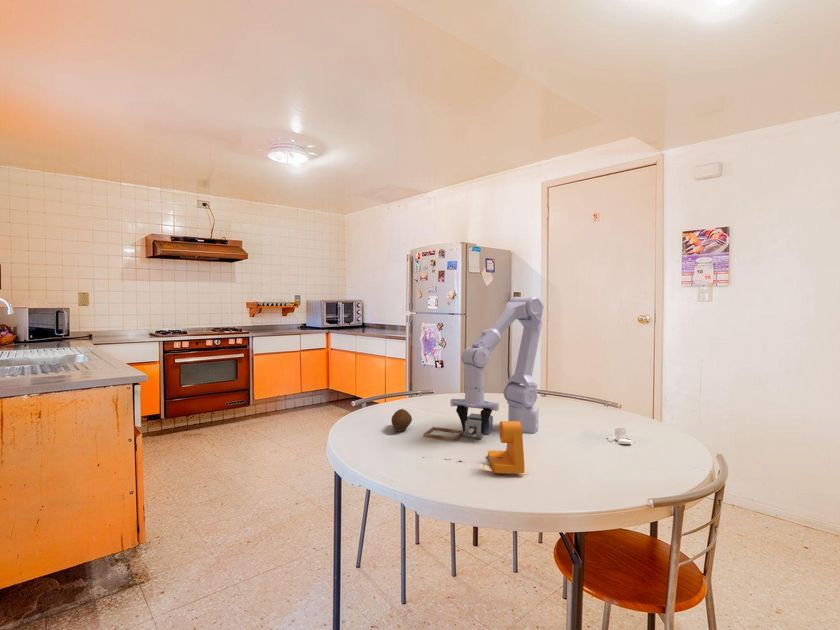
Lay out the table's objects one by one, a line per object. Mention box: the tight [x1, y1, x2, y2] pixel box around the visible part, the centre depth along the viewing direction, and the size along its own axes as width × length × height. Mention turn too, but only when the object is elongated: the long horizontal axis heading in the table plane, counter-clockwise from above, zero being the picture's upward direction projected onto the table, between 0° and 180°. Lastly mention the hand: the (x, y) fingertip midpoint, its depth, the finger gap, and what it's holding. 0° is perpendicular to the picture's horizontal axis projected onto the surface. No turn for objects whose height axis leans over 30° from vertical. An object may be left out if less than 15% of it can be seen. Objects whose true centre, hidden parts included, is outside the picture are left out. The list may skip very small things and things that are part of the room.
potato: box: [391, 408, 413, 432], centre depth 143 cm, size 7×12×7 cm, turn 3°
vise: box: [467, 412, 494, 435], centre depth 135 cm, size 7×15×6 cm, turn 157°
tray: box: [422, 426, 465, 442], centre depth 134 cm, size 10×8×2 cm
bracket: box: [487, 420, 525, 474], centre depth 111 cm, size 11×7×12 cm, turn 1°
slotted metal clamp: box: [464, 419, 484, 440], centre depth 132 cm, size 5×2×5 cm, turn 67°
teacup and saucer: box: [613, 427, 634, 445], centre depth 134 cm, size 9×8×4 cm
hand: (473, 431), depth 132 cm, fingers closed on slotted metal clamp, 5 cm apart
